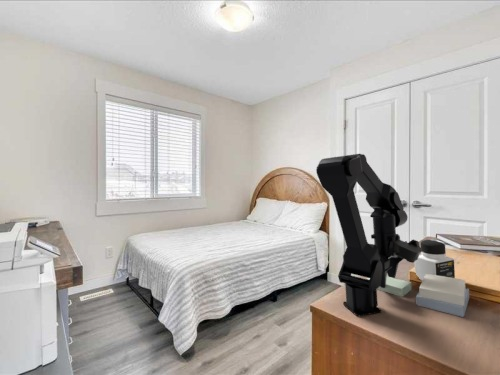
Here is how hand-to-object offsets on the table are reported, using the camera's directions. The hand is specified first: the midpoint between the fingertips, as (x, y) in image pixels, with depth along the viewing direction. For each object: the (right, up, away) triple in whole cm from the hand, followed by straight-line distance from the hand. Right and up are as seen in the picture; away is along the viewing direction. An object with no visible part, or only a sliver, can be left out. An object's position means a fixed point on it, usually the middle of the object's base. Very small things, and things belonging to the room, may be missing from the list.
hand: (387, 284), depth 73 cm
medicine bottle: (+16, 0, +3) cm, 16 cm away
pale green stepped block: (0, -1, 0) cm, 1 cm away
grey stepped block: (+9, -1, -10) cm, 13 cm away
